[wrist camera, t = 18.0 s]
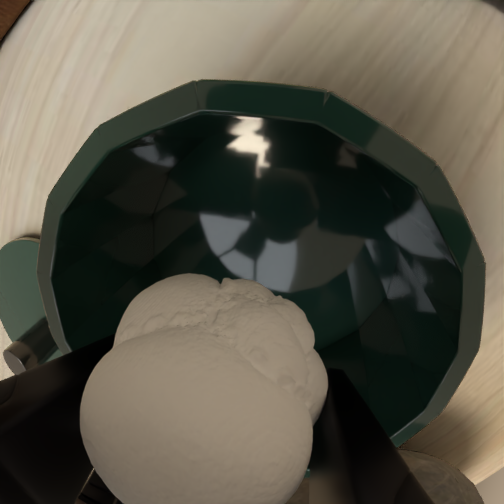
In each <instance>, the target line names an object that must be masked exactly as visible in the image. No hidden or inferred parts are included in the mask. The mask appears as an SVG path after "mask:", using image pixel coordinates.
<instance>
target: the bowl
mask: <svg viewBox="0 0 504 504" xmlns="http://www.w3.org/2000/svg"><path fill="white" fill-rule="evenodd" d="M398 451H399V452H400V454H401V455H402V457H403V458H404V460H405V461H406V463H407V464H408V466H409V467H410V471H412V472H413V473H414V474H415V476H416V477H417V479H418V480H419V482H420V483H421V485H422V486H423V487H424V489H425V490H426V492H427V493H428V494H429V496H430V497H431V499H432V500H433V501H434V502H435V503H436V504H484V502H483V500H482V498H481V496H480V495H479V493H478V491H477V489H476V487H475V485H474V484H473V483H472V482H471V481H470V480H469V479H468V478H467V477H466V476H465V475H464V474H462V473H461V472H460V471H459V470H458V469H457V468H455V467H454V466H452V465H451V464H450V463H448V462H446V461H444V460H441V459H439V458H435V457H433V456H431V455H427V454H423V453H420V452H414V451H409V450H402V449H398ZM309 480H310V478H303V480H302V482H301V483H300V485H299V487H298V489H297V490H296V491H295V493H294V494H293V495H292V497H291V498H290V499H289V500H288V501H287V502H286V503H285V504H309Z"/></svg>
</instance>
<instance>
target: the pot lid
mask: <svg viewBox="0 0 504 504" xmlns="http://www.w3.org/2000/svg"><path fill="white" fill-rule="evenodd" d="M39 243H40V240H39V239H36V238H29V237H24V238H18V239H15V240H13V241H11V242H9V243H7V244H6V245H5V246H3V247H2V249H1V250H0V319H1V321H2V324H3V326H4V328H5V330H6V332H7V334H8V336H9V337H10V339H11V341H12V342H13V343H12V344H11V345H10V346H9V347H7V348H6V349H5V350H4V352H3V356H4V359H5V361H6V363H7V365H8V366H9V368H10V369H11V371H12V372H13V373H14V374H15V375H19V374H20V373H22V372H24V371H27V370H29V369H31V368H34V367H36V366H39V365H41V364H44V363H46V362H48V361H51V360H53V359H56V358H58V357H60V356H63V354H62V353H61V351H60V349H59V348H58V346H57V344H56V343H55V341H54V339H53V337H52V335H51V332H50V328H49V324H48V321H47V317H46V313H45V309H44V305H43V301H42V297H41V293H40V288H39V284H38V279H37V274H36V271H37V269H36V268H37V259H38V251H39Z"/></svg>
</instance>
